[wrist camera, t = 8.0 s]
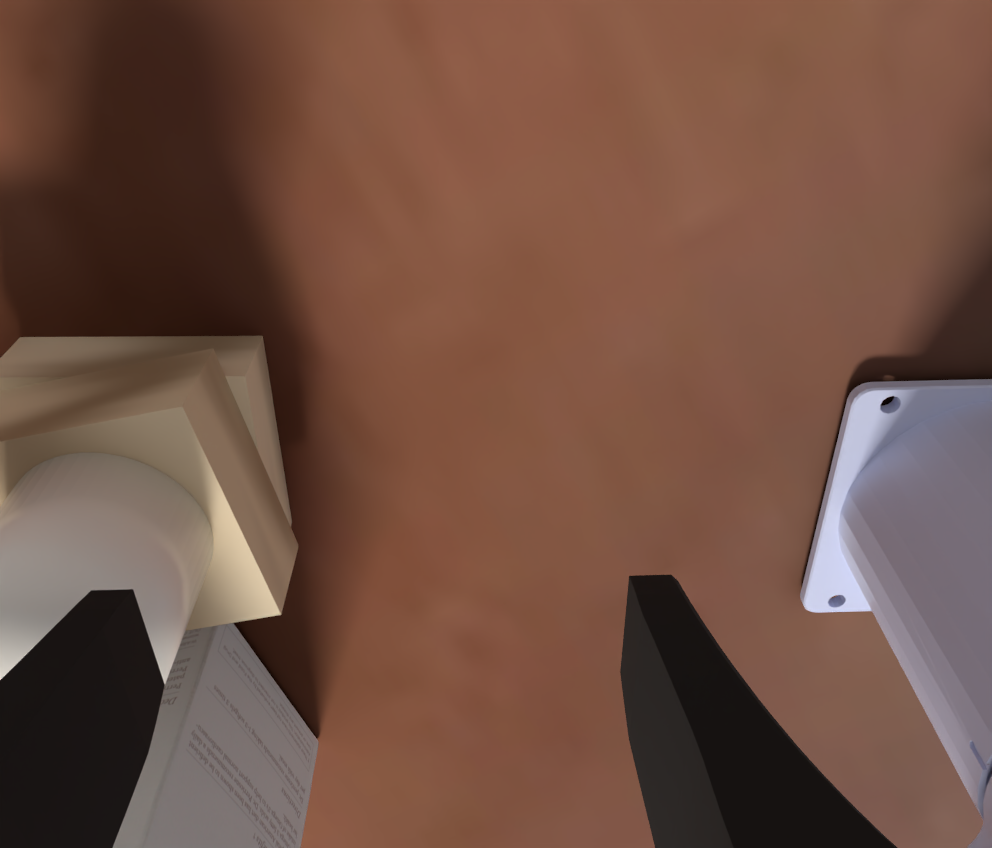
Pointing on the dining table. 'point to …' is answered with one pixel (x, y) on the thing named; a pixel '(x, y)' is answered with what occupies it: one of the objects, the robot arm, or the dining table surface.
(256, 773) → the supplement box
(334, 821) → the dining table surface
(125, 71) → the dining table surface
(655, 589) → the robot arm
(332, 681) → the dining table surface
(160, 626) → the ceramic jar
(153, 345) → the oak slab bottom
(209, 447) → the oak slab top
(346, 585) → the dining table surface
